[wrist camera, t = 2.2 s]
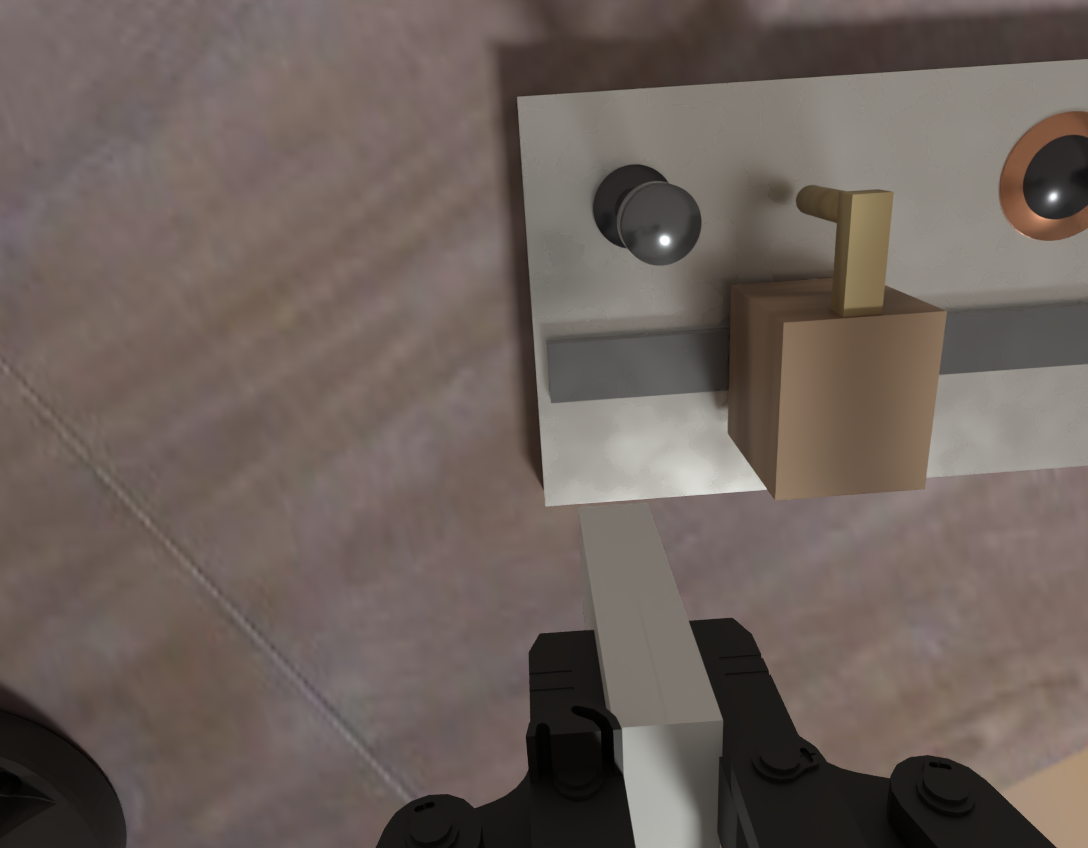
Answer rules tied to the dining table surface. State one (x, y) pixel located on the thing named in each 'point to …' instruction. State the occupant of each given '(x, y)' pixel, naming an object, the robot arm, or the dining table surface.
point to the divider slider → (835, 365)
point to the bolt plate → (801, 259)
